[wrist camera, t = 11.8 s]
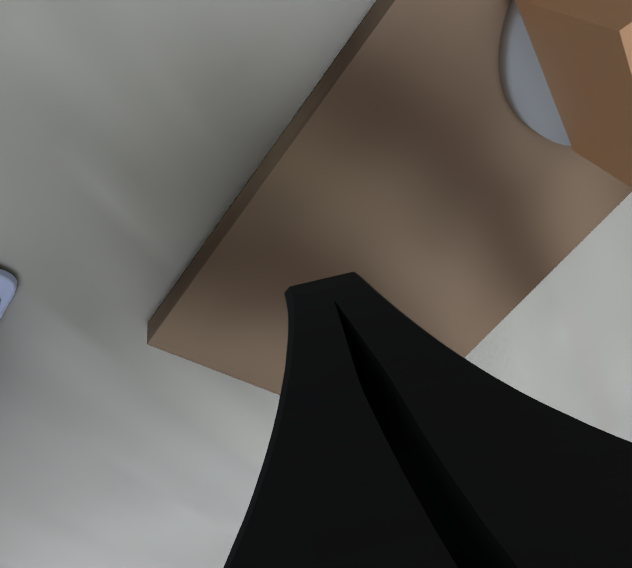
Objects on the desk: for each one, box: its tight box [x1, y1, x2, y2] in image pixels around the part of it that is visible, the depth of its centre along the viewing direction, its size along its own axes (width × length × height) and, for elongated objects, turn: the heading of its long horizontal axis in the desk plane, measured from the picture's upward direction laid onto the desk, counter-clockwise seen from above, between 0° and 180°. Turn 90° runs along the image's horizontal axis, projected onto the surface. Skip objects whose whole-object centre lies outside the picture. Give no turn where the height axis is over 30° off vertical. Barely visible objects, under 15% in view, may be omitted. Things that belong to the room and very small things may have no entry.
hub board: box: [147, 0, 632, 395], centre depth 18 cm, size 21×12×6 cm, turn 142°
